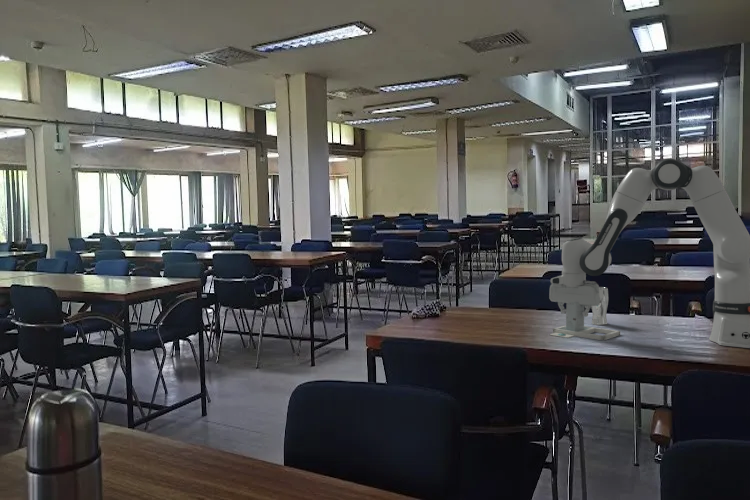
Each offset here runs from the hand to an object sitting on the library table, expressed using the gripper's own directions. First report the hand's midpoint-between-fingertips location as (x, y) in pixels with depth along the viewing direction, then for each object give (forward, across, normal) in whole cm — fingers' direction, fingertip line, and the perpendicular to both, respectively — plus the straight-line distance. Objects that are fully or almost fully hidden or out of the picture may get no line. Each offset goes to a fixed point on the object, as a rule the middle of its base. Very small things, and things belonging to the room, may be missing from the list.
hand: (574, 314), depth 231 cm
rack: (+7, -5, +2) cm, 9 cm away
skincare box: (+7, 0, 0) cm, 7 cm away
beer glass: (+7, +1, -21) cm, 22 cm away
